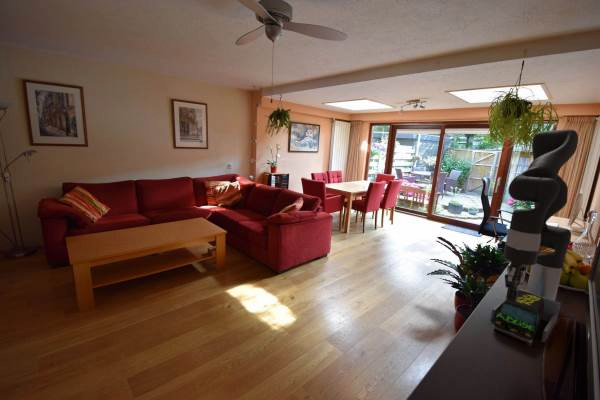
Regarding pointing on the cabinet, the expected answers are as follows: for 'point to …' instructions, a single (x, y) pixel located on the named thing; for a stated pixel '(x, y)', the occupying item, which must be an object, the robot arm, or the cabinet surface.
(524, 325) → the toy van
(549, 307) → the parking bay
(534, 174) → the robot arm
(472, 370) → the cabinet surface
